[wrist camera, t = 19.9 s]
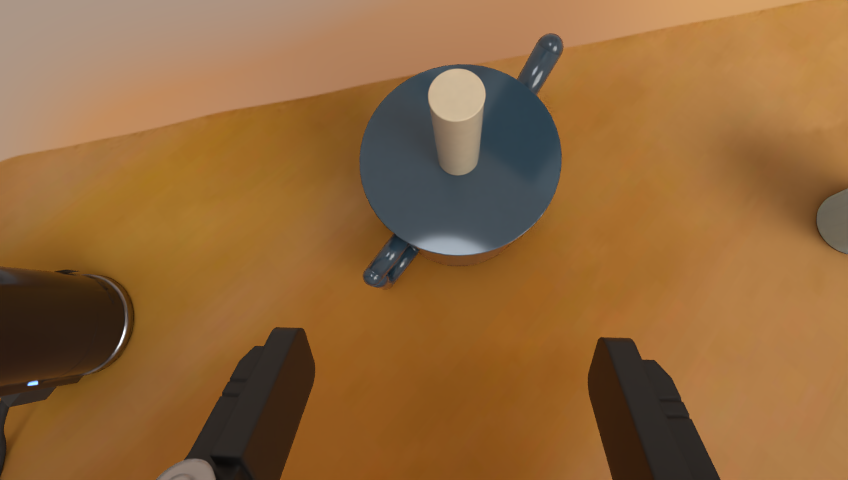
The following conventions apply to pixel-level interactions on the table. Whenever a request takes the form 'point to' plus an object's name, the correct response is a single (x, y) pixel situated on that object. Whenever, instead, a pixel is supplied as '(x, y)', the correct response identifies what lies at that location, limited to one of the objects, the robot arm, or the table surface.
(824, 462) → the table surface
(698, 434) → the robot arm
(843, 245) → the cup
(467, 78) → the pot lid
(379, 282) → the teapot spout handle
